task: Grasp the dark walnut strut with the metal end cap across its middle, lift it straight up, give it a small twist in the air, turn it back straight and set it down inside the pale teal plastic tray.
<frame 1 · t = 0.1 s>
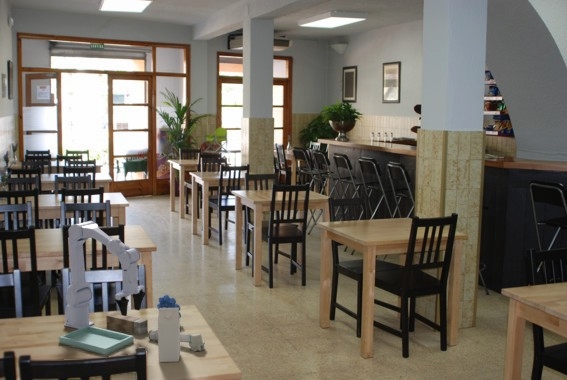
hand: (130, 312, 251), 10 cm above the table, tool pointing down, fingers open, 7 cm apart
grapes: (167, 323, 268), on the table
milk carton: (169, 358, 232), on the table
tray: (96, 342, 246), on the table
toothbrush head: (176, 345, 245), on the table
walnut strut: (126, 329, 261), on the table
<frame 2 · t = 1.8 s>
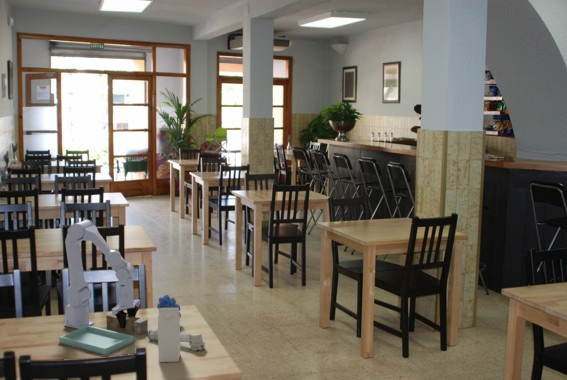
hand: (126, 325, 260), 1 cm above the table, tool pointing down, fingers closed on walnut strut, 4 cm apart
walnut strut: (126, 329, 261), on the table, touching gripper
everything else where it was.
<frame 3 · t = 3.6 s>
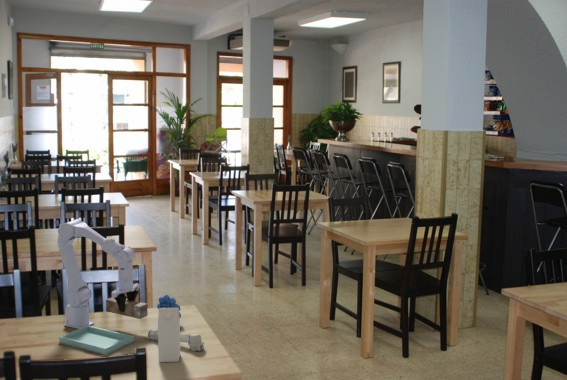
hand: (126, 309, 260), 8 cm above the table, tool pointing down, fingers closed on walnut strut, 4 cm apart
walnut strut: (126, 313, 260), point 7 cm above the table, touching gripper
everything else where it was.
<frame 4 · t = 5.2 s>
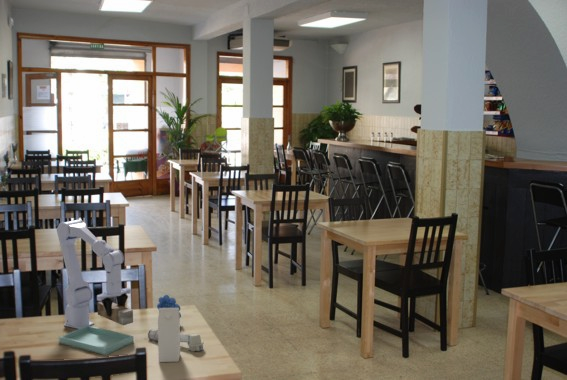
hand: (114, 314, 254), 8 cm above the table, tool pointing down, fingers closed on walnut strut, 4 cm apart
walnut strut: (115, 318, 254), point 7 cm above the table, touching gripper
everything else where it was.
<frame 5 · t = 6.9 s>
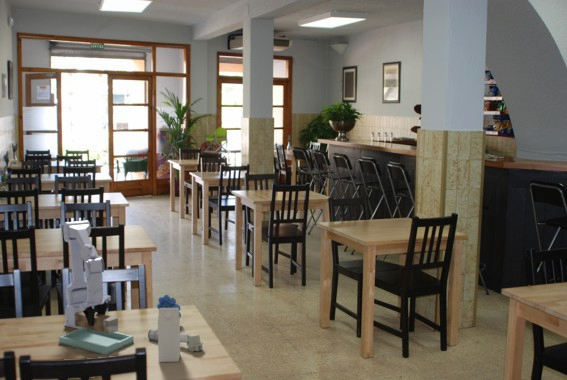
hand: (96, 323, 245), 8 cm above the table, tool pointing down, fingers closed on walnut strut, 4 cm apart
walnut strut: (96, 328, 245), point 6 cm above the table, touching gripper
everything else where it was.
when the fingers open (3 cm above the table, at t = 8.6 s): walnut strut stays where it is, resting on tray.
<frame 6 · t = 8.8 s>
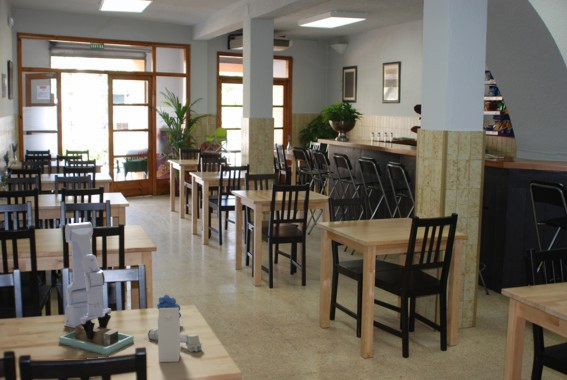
hand: (96, 336, 245), 3 cm above the table, tool pointing down, fingers open, 6 cm apart
walnut strut: (96, 341, 246), point 1 cm above the table, touching tray
everything else where it was.
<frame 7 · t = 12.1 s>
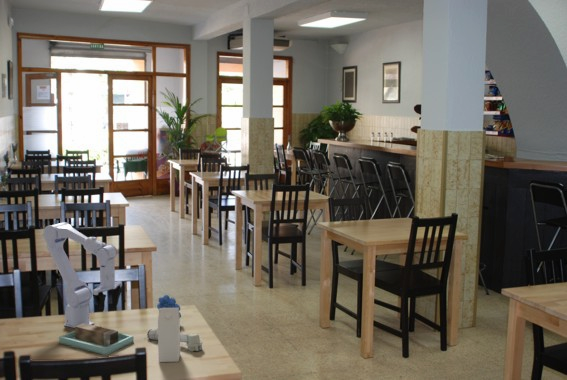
hand: (108, 307, 259), 9 cm above the table, tool pointing down, fingers open, 7 cm apart
nothing on the table moved.
at the end: walnut strut inside the target area on the tray (0.1 cm from its centre), point 0.6 cm above the tray's base; the gripper is holding nothing; walnut strut moved 17.0 cm from its start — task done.
